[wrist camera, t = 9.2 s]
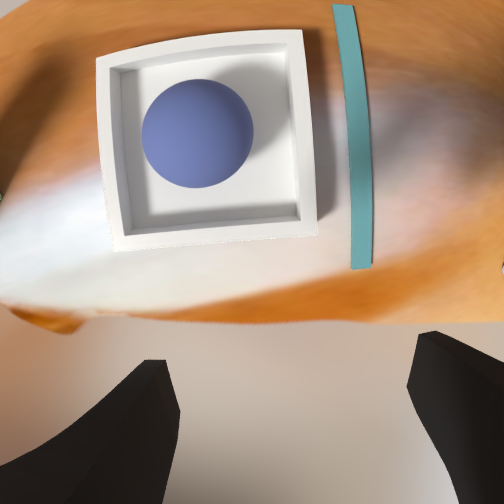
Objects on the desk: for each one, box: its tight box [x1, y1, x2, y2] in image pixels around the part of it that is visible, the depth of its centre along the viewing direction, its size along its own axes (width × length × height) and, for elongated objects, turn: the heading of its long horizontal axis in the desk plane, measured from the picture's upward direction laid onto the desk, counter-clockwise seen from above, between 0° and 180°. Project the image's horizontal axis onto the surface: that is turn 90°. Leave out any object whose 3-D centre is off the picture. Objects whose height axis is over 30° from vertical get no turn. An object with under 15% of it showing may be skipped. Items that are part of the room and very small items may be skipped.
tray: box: [96, 30, 317, 252], centre depth 15 cm, size 11×11×2 cm
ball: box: [141, 79, 254, 188], centre depth 13 cm, size 5×5×5 cm
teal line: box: [332, 4, 372, 270], centre depth 16 cm, size 16×1×1 cm, turn 4°
